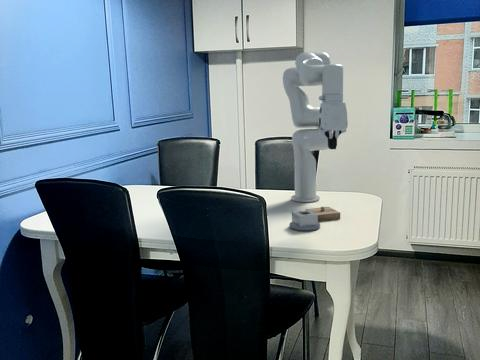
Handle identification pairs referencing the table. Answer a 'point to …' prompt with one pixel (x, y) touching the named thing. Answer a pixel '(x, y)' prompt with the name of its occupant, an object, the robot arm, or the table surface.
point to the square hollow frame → (304, 218)
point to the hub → (304, 229)
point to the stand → (326, 213)
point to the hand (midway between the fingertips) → (332, 148)
